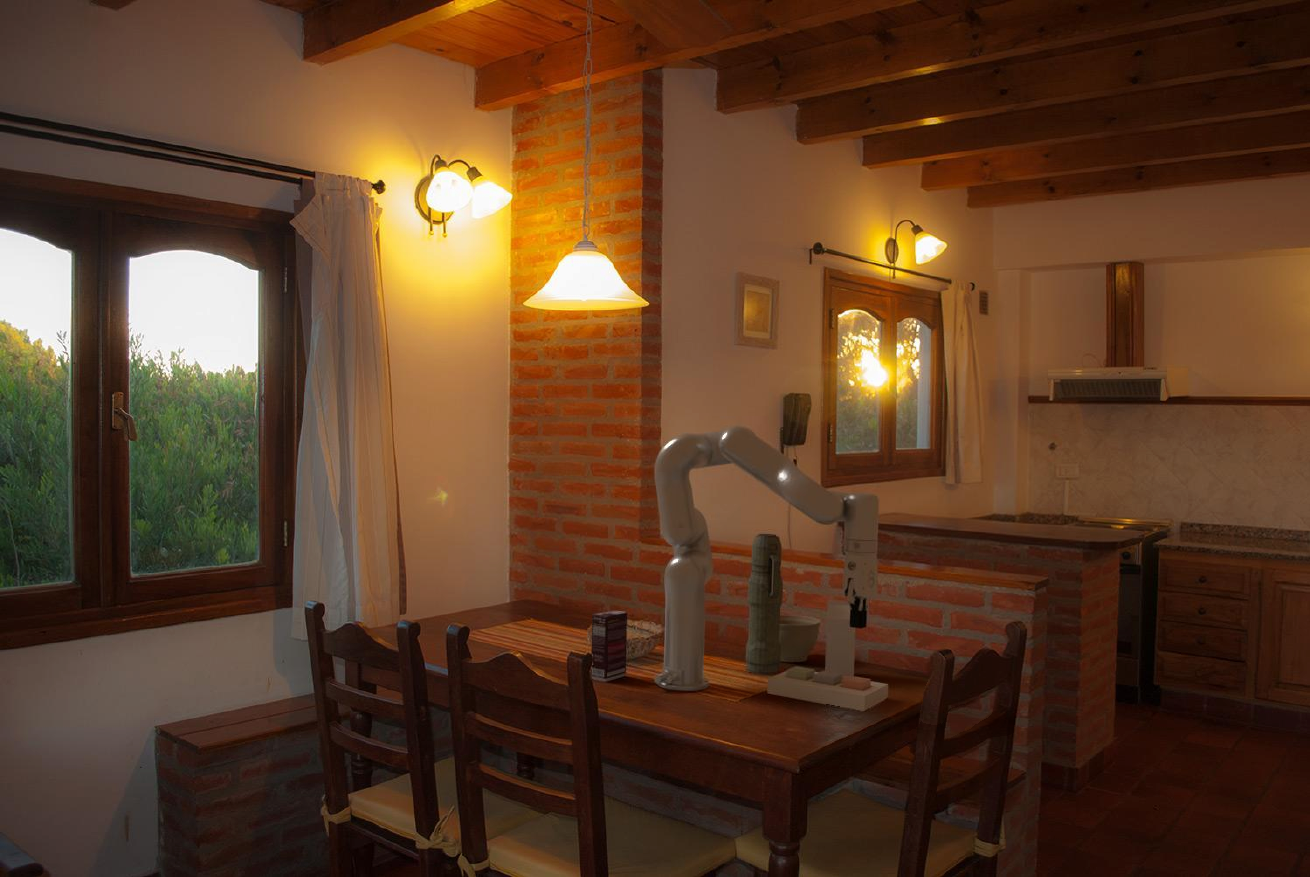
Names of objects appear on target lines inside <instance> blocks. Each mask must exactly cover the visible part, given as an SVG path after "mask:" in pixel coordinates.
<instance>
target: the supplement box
mask: <svg viewBox="0 0 1310 877" xmlns="http://www.w3.org/2000/svg"><path fill="white" fill-rule="evenodd" d="M591 621H592V622H591V623H592V624H591V652H590V653H591V654H593V665H592V669H591V668H590V676H591V675H592V679H593V681H597V682H602V683H607V682H610V681H614V680H618V679H620V678H623V677H626V676H627V643H628V641H627V635H628V630H627V629H628V612H627V611H622V610H608V611H603V612H598V613H592V617H591ZM592 679H591V680H592Z"/></svg>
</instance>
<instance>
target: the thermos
mask: <svg viewBox="0 0 1310 877" xmlns="http://www.w3.org/2000/svg"><path fill="white" fill-rule="evenodd" d="M752 542H753V543H752V545H751V572H750V573H751V574H750V577H749V579H748V586H747V588H748V589H747V590H748V591H747V602H748V606H749V610H748V611H749V612H748V637H747V638H748V639H747V642H746V645H745V663H746V667H745V671H746V670H747V671H749V672H751V673H750V674H752V673H754V674H753V675H758V674H762V675H761V676H772V675H771V674H775V675H777V674H776V673H778V674H780V670H781V669H780V664H781V662H782V661H781V644H780V641H779V628H780V615H781V607H782V605H783V590H784V587H783V586H784V582H783V579H782V575H781V574H782V571H781V566H782V549H783V548H782V543H781V539H780V537H779V536H778V535H777V534H773V533H758V534H757V535H755V536H754V539H753V541H752ZM747 671H746V672H747ZM749 672H748V673H749Z"/></svg>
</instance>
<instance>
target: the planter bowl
mask: <svg viewBox="0 0 1310 877" xmlns="http://www.w3.org/2000/svg"><path fill="white" fill-rule="evenodd" d="M820 625H821V620H820V619H818V618H815V617H810V616H806V615H805V616H804V615H803V616H802V615H797V614H780V628H779V641H780V644H781V662H785V663H794V662H796V663H802V662H806V661H807V660H808V656H809V654H810V653H811V652H812V650H813V649H814V648H815V645H816V643H817V640H818V637H819V633H820Z"/></svg>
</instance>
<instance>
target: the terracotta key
mask: <svg viewBox="0 0 1310 877" xmlns="http://www.w3.org/2000/svg"><path fill="white" fill-rule="evenodd" d="M871 680H872V679H871V678H865V677H859V676H855V675H854V676H848V677H846V678H844V679H842V683H841V687H844V688H849V689H855V690H861V691H864V690H866V689H868V688H870V687H871Z"/></svg>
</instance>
